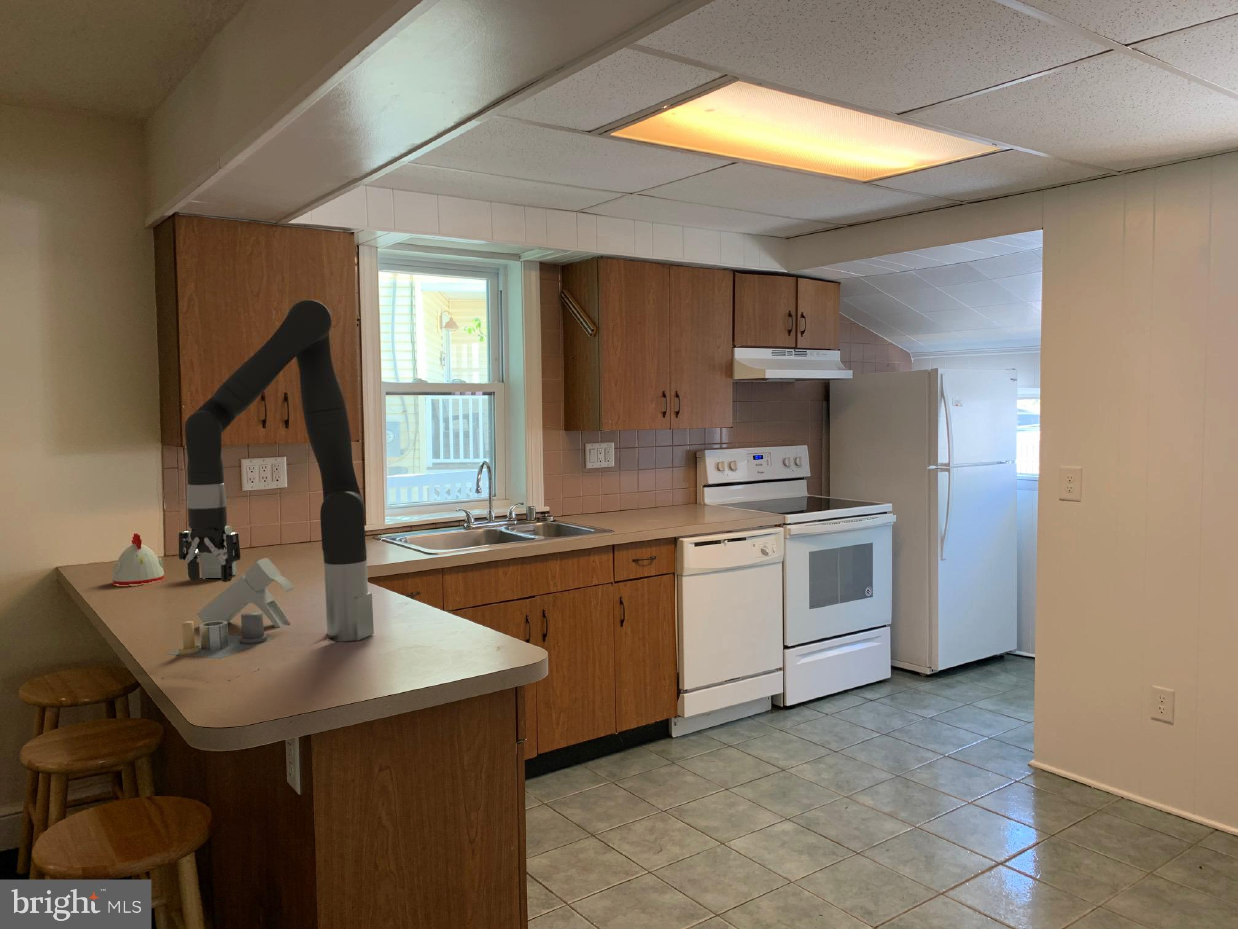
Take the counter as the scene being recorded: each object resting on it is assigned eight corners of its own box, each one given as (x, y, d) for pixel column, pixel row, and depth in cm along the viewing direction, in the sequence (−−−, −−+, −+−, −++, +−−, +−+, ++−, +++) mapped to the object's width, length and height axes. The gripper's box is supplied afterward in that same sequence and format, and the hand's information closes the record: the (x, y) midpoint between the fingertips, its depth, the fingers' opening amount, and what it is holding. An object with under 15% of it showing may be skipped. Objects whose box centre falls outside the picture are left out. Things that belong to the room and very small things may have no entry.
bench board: (274, 643, 201) (272, 609, 200) (221, 664, 186) (219, 627, 185) (222, 639, 205) (220, 606, 205) (167, 659, 190) (164, 623, 190)
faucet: (209, 606, 218) (268, 554, 216) (253, 658, 218) (313, 606, 216) (194, 613, 212) (255, 558, 210) (240, 666, 212) (301, 612, 209)
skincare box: (237, 575, 285) (234, 525, 284) (225, 579, 278) (222, 528, 277) (211, 575, 286) (208, 525, 285) (199, 580, 279) (196, 528, 278)
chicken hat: (119, 589, 268) (116, 538, 267) (108, 582, 278) (105, 534, 277) (170, 582, 277) (167, 533, 276) (157, 576, 287) (154, 529, 286)
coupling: (234, 644, 196) (232, 621, 196) (215, 651, 191) (214, 627, 191) (213, 642, 198) (212, 620, 198) (195, 649, 193) (193, 626, 193)
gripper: (246, 503, 194) (250, 579, 195) (193, 502, 199) (197, 575, 200) (220, 507, 187) (224, 585, 188) (166, 506, 192) (170, 582, 193)
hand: (210, 580), depth 194 cm, fingers open, 8 cm apart
